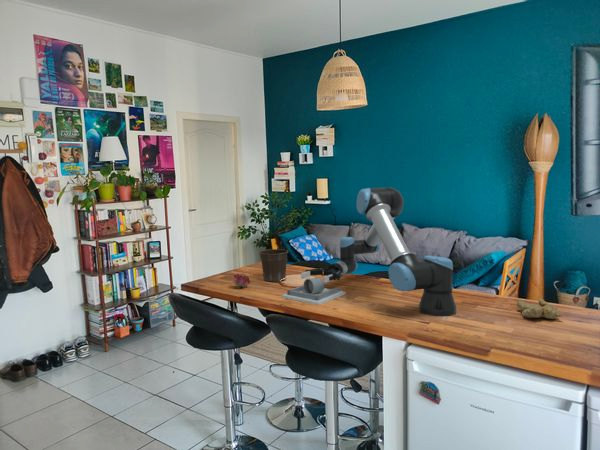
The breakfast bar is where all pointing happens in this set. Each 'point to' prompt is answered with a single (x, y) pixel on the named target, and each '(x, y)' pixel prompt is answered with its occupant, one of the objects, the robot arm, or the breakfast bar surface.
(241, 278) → the flower
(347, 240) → the robot arm
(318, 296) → the tray
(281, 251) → the plant pot
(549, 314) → the ginger root
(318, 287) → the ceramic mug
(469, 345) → the breakfast bar surface
